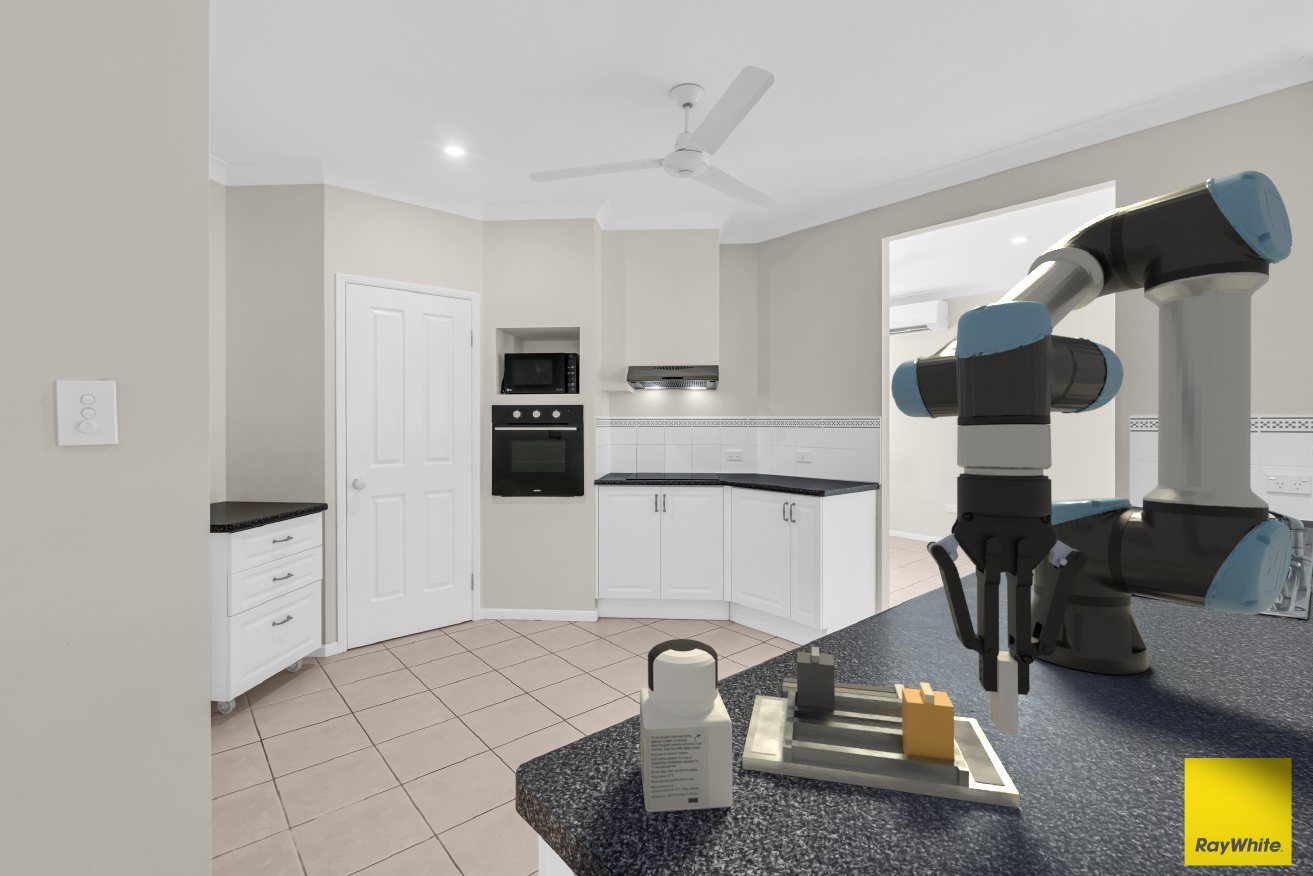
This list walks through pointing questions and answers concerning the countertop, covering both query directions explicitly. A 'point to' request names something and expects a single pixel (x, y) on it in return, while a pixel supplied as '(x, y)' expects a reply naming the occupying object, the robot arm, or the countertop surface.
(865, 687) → the strapped plank bundle
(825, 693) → the toggle
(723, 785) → the container
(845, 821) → the countertop surface
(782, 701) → the panel
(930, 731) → the toggle
